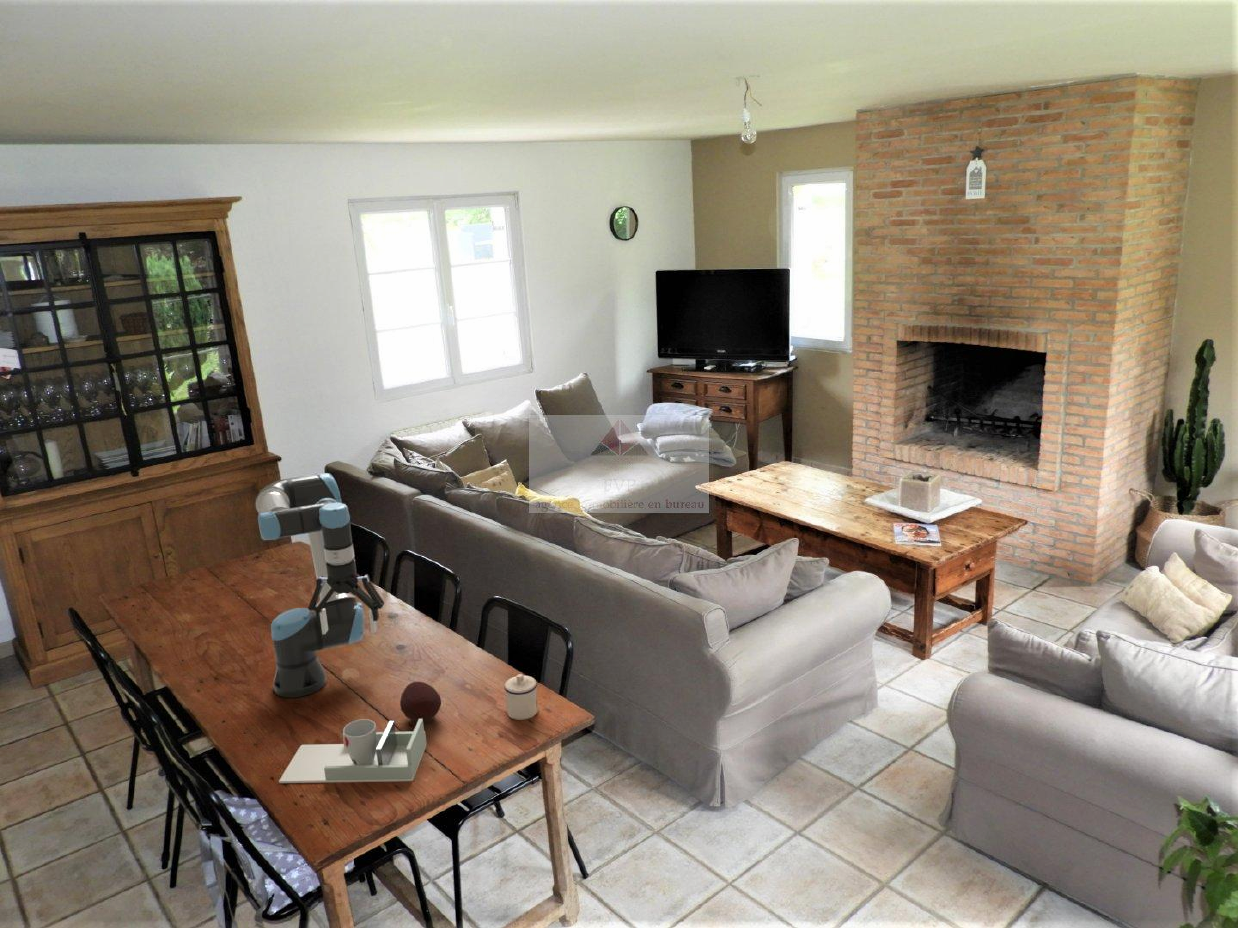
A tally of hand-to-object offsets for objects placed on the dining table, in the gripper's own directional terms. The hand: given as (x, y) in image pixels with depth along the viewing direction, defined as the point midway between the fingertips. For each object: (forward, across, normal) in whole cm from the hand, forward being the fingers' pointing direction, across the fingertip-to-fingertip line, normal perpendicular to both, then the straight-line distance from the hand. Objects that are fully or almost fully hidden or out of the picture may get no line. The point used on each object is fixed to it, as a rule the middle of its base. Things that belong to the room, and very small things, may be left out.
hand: (349, 631), depth 248 cm
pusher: (+26, +14, -22) cm, 37 cm away
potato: (+27, +18, -2) cm, 32 cm away
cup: (+26, +8, -22) cm, 35 cm away
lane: (+27, +5, -22) cm, 35 cm away
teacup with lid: (+27, +45, +2) cm, 52 cm away
